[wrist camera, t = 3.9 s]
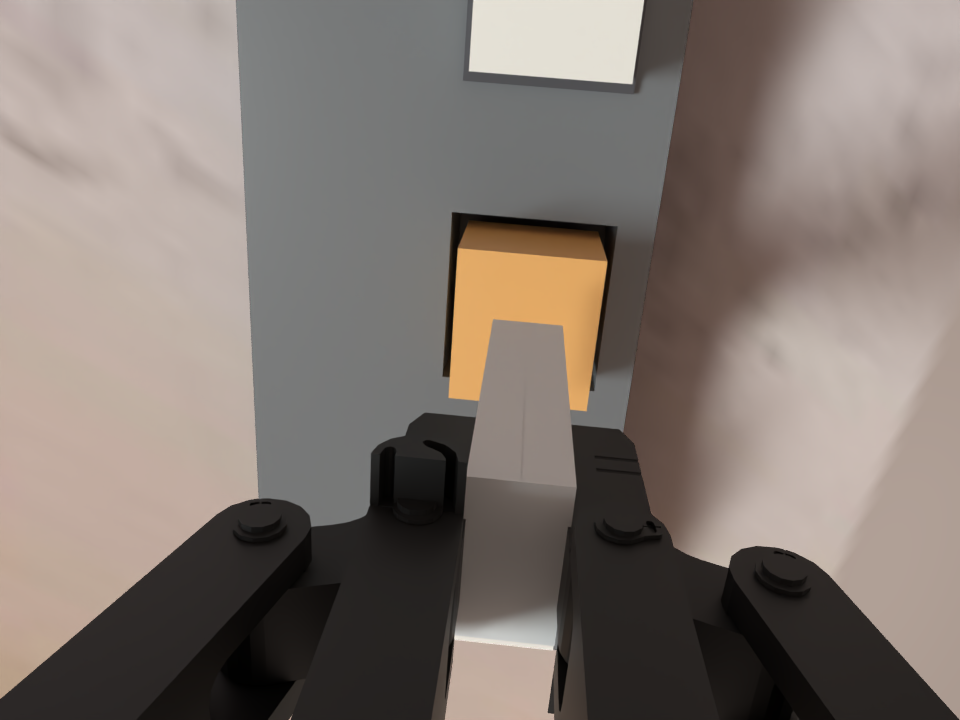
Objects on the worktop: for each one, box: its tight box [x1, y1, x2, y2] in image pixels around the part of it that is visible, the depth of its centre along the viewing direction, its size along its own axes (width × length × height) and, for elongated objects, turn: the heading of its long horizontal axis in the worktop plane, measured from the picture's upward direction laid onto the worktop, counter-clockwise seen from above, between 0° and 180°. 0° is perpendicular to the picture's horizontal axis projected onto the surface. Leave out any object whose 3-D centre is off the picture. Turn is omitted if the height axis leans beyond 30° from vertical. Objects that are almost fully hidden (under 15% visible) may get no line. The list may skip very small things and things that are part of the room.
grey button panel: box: [236, 0, 693, 650], centre depth 22 cm, size 24×11×6 cm, turn 176°
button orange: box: [449, 220, 608, 411], centre depth 21 cm, size 4×4×3 cm
